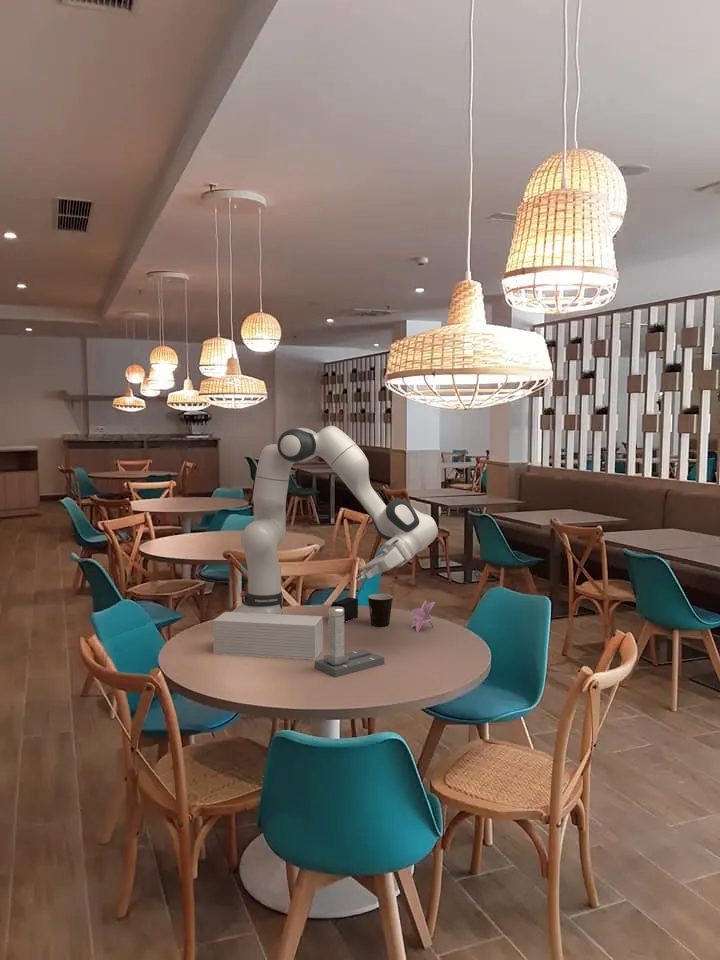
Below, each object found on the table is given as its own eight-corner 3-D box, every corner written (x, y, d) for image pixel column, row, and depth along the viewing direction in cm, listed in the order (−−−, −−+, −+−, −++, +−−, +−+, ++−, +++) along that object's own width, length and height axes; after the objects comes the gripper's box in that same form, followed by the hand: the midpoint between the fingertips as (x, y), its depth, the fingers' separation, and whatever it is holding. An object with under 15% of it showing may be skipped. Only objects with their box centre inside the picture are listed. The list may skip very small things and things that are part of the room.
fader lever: (334, 665, 210) (334, 611, 209) (324, 661, 214) (324, 608, 213) (348, 662, 213) (348, 608, 212) (337, 657, 217) (338, 605, 216)
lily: (412, 625, 264) (402, 604, 261) (443, 613, 262) (433, 592, 259) (415, 645, 253) (404, 623, 250) (447, 633, 251) (437, 611, 248)
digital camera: (345, 615, 274) (345, 596, 273) (358, 617, 271) (358, 598, 271) (330, 621, 265) (330, 602, 264) (343, 623, 262) (343, 604, 262)
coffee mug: (370, 620, 266) (370, 593, 265) (394, 622, 264) (394, 594, 263) (364, 629, 255) (364, 601, 254) (388, 631, 253) (389, 602, 252)
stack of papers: (322, 650, 233) (322, 616, 232) (315, 660, 222) (315, 625, 221) (225, 644, 238) (225, 611, 237) (213, 654, 228) (213, 620, 227)
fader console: (335, 677, 207) (335, 669, 207) (314, 667, 215) (314, 660, 215) (384, 663, 219) (384, 656, 218) (362, 655, 226) (362, 648, 226)
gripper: (379, 548, 240) (346, 573, 235) (401, 539, 221) (366, 566, 216) (390, 564, 240) (357, 589, 235) (413, 557, 221) (378, 583, 216)
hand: (361, 578), depth 225 cm, fingers open, 8 cm apart
